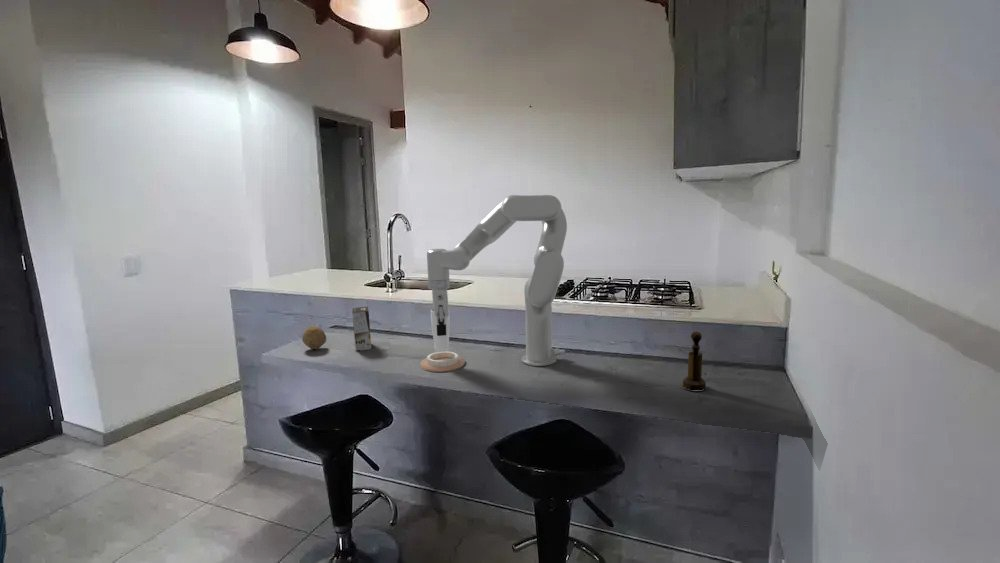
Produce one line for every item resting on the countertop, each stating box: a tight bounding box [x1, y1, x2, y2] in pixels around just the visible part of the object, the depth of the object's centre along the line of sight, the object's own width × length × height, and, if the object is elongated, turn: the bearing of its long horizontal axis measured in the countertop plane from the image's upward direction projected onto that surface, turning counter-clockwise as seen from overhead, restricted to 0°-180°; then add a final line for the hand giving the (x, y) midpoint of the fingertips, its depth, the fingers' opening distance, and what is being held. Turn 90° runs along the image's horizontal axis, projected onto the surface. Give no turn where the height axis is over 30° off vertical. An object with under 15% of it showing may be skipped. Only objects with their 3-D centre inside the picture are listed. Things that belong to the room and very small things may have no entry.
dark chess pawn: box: [682, 330, 707, 390], centre depth 148 cm, size 7×6×18 cm
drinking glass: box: [430, 308, 451, 352], centre depth 174 cm, size 7×7×15 cm
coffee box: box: [352, 306, 372, 351], centre depth 198 cm, size 9×6×16 cm
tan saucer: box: [420, 350, 466, 373], centre depth 176 cm, size 16×16×3 cm
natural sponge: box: [302, 325, 327, 350], centre depth 197 cm, size 9×9×10 cm
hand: (441, 332), depth 174 cm, fingers closed on drinking glass, 6 cm apart
